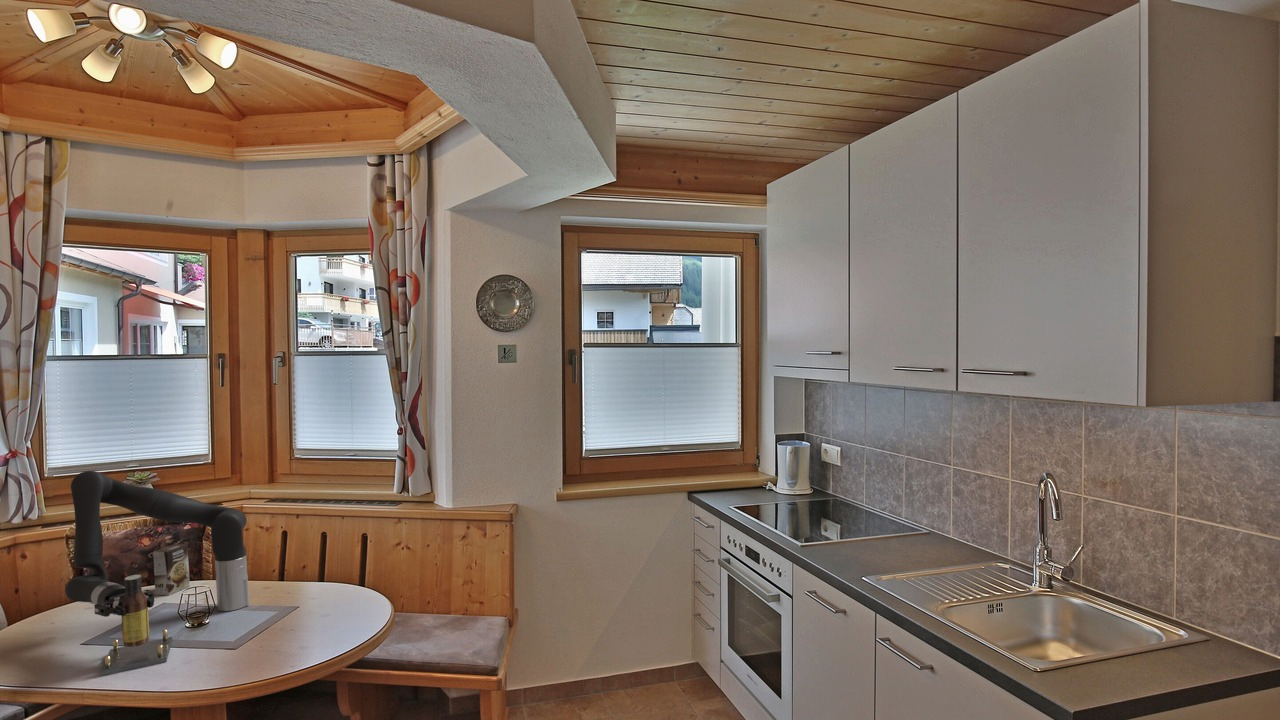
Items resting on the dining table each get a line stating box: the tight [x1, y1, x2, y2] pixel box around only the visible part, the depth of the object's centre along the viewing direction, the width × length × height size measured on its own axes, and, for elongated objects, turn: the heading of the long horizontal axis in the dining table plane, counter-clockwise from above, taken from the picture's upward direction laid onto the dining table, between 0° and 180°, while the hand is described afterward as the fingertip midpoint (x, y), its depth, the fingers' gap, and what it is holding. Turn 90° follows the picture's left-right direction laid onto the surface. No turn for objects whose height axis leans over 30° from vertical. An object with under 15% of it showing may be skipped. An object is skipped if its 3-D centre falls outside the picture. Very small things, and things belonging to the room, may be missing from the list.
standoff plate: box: [99, 628, 173, 677], centre depth 197 cm, size 15×15×4 cm
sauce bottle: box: [120, 574, 150, 647], centre depth 196 cm, size 7×6×20 cm
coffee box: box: [152, 543, 191, 596], centre depth 249 cm, size 9×6×16 cm
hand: (138, 608), depth 195 cm, fingers closed on sauce bottle, 6 cm apart
